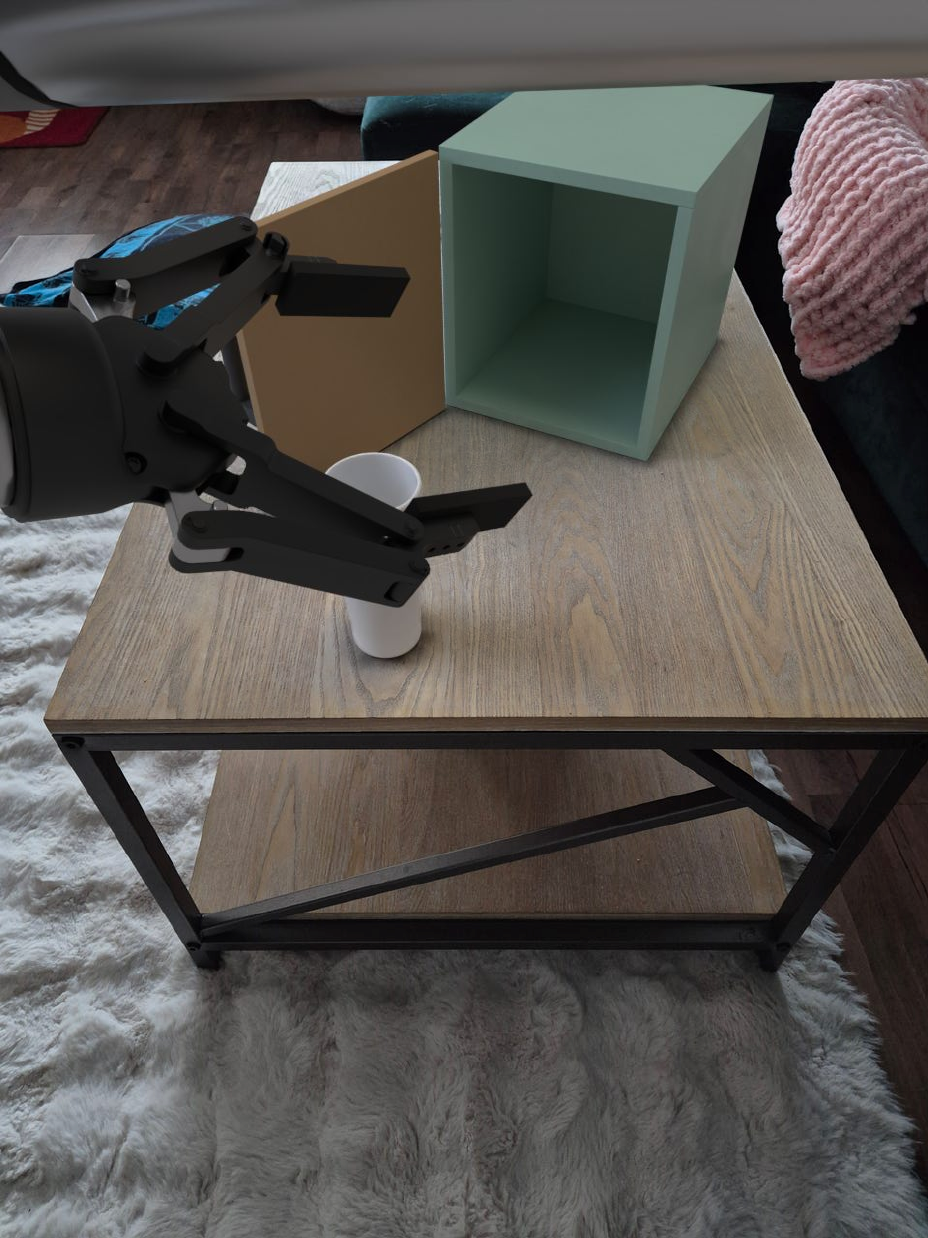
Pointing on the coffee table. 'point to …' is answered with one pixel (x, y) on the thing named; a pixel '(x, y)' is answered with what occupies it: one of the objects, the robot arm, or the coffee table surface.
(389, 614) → the drinking glass
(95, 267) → the robot arm
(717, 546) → the coffee table surface
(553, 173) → the box
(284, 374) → the fridge door
